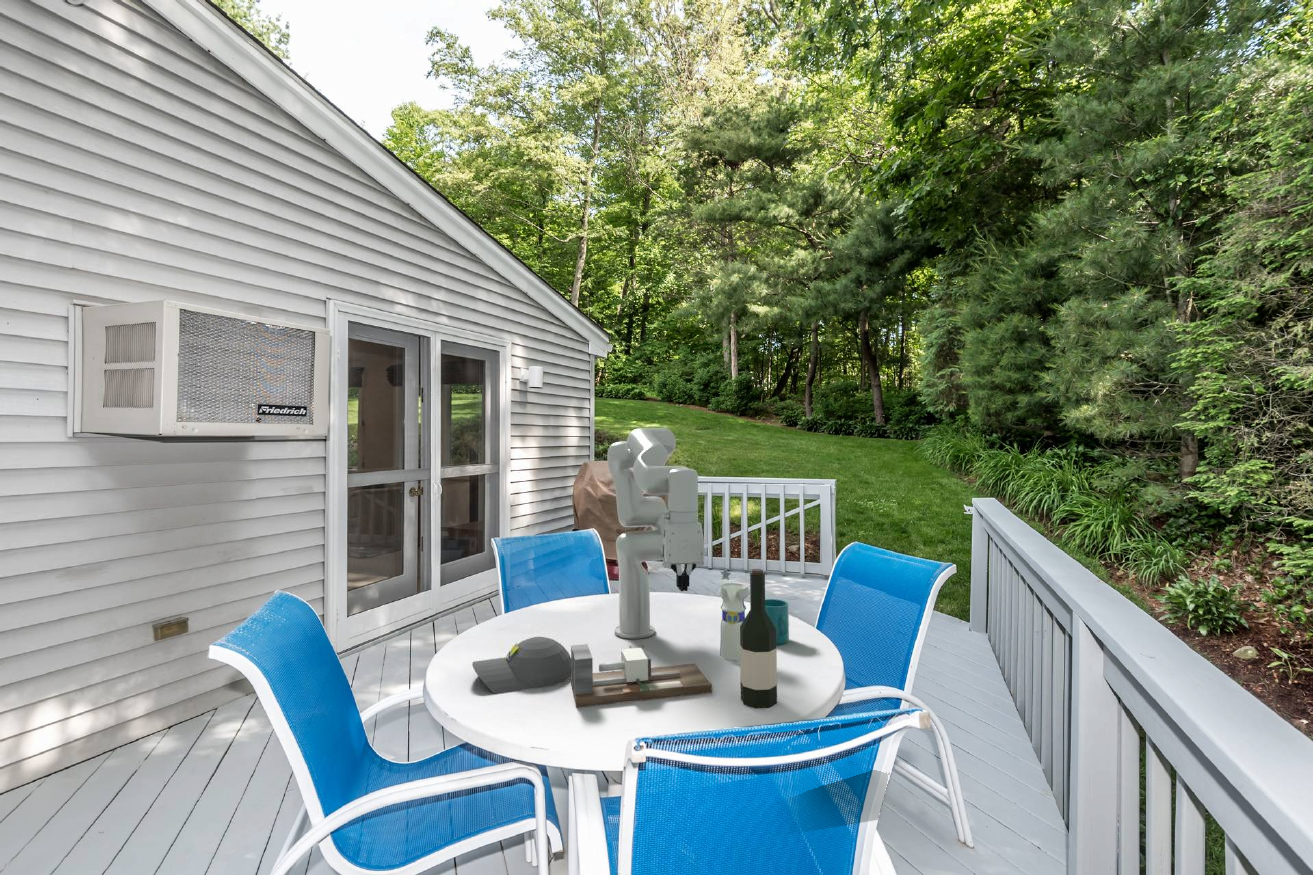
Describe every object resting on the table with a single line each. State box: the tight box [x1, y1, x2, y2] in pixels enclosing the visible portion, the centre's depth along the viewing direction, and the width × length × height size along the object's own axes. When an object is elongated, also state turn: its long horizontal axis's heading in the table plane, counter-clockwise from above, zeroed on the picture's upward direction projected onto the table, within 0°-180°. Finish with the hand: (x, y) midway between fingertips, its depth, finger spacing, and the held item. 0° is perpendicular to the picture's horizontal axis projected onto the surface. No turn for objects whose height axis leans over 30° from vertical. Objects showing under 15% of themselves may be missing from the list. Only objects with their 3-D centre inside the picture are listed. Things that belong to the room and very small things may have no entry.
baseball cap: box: [471, 636, 571, 695], centre depth 155 cm, size 19×26×12 cm
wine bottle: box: [739, 568, 778, 709], centre depth 139 cm, size 8×8×30 cm
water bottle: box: [718, 567, 750, 661], centre depth 168 cm, size 8×9×25 cm
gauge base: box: [570, 643, 713, 708], centre depth 147 cm, size 14×32×10 cm, turn 103°
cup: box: [765, 598, 790, 646], centre depth 179 cm, size 9×12×11 cm
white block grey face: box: [598, 647, 652, 685], centre depth 145 cm, size 10×12×5 cm
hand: (682, 589), depth 153 cm, fingers closed
